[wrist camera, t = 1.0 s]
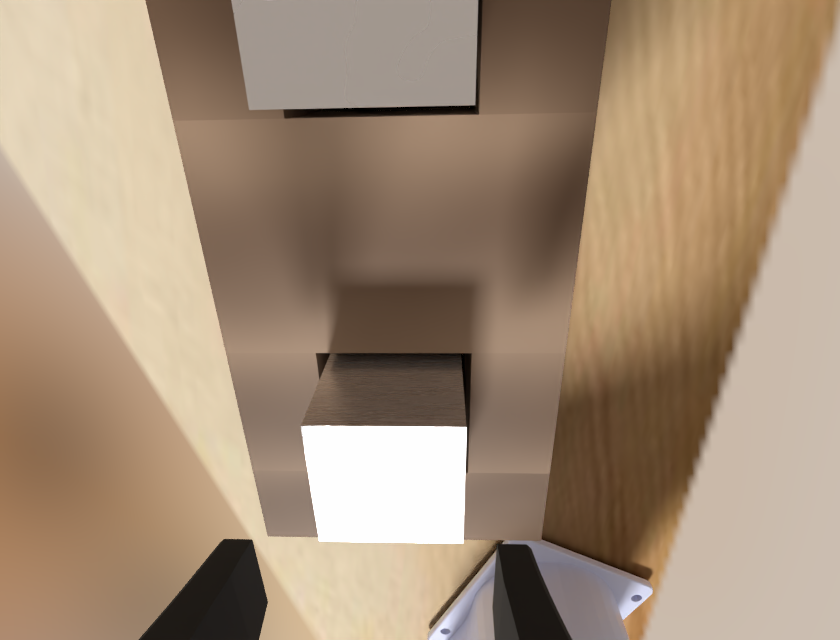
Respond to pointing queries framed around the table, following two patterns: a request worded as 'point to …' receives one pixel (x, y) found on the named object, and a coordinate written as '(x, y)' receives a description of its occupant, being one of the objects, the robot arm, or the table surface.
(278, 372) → the block
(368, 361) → the pin
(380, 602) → the table surface
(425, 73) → the pin
